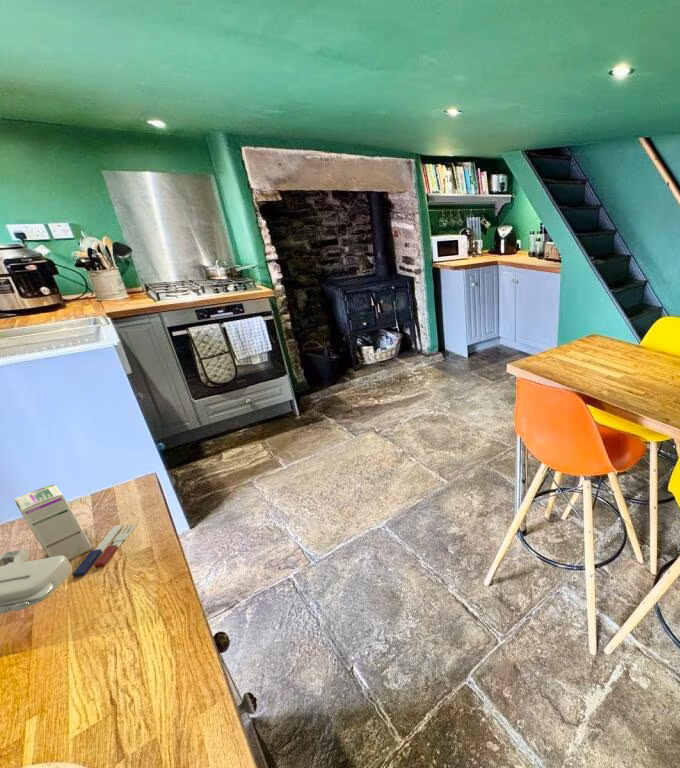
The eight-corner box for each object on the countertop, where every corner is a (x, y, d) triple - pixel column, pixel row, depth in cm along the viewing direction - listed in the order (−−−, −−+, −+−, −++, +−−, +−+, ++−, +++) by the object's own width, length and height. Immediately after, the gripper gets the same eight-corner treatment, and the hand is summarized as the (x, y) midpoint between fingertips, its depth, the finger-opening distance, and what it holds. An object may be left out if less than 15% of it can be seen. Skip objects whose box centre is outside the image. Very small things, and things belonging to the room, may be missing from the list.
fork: (93, 569, 79) (91, 565, 79) (125, 526, 89) (123, 523, 89) (107, 566, 80) (105, 562, 79) (137, 524, 90) (135, 521, 90)
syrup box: (93, 548, 84) (64, 492, 78) (53, 568, 79) (19, 510, 73) (84, 537, 86) (56, 482, 81) (45, 555, 82) (11, 498, 76)
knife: (74, 577, 77) (72, 574, 77) (114, 527, 89) (112, 523, 89) (84, 575, 78) (82, 572, 77) (123, 525, 90) (121, 522, 89)
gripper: (29, 591, 61) (84, 527, 73) (-164, 628, 55) (-69, 552, 67) (47, 619, 64) (98, 553, 76) (-136, 657, 58) (-49, 579, 70)
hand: (18, 553), depth 72 cm, fingers closed
